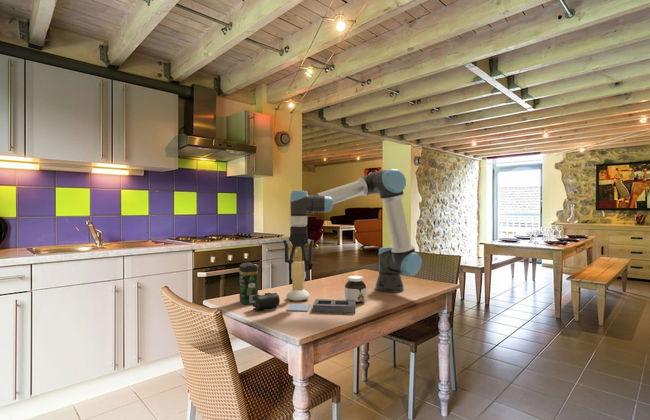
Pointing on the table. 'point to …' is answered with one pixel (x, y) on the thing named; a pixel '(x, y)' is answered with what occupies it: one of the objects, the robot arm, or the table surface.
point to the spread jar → (355, 289)
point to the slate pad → (298, 307)
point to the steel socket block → (334, 306)
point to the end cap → (266, 301)
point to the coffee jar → (248, 282)
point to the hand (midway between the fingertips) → (298, 278)
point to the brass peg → (298, 275)
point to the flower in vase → (297, 291)
